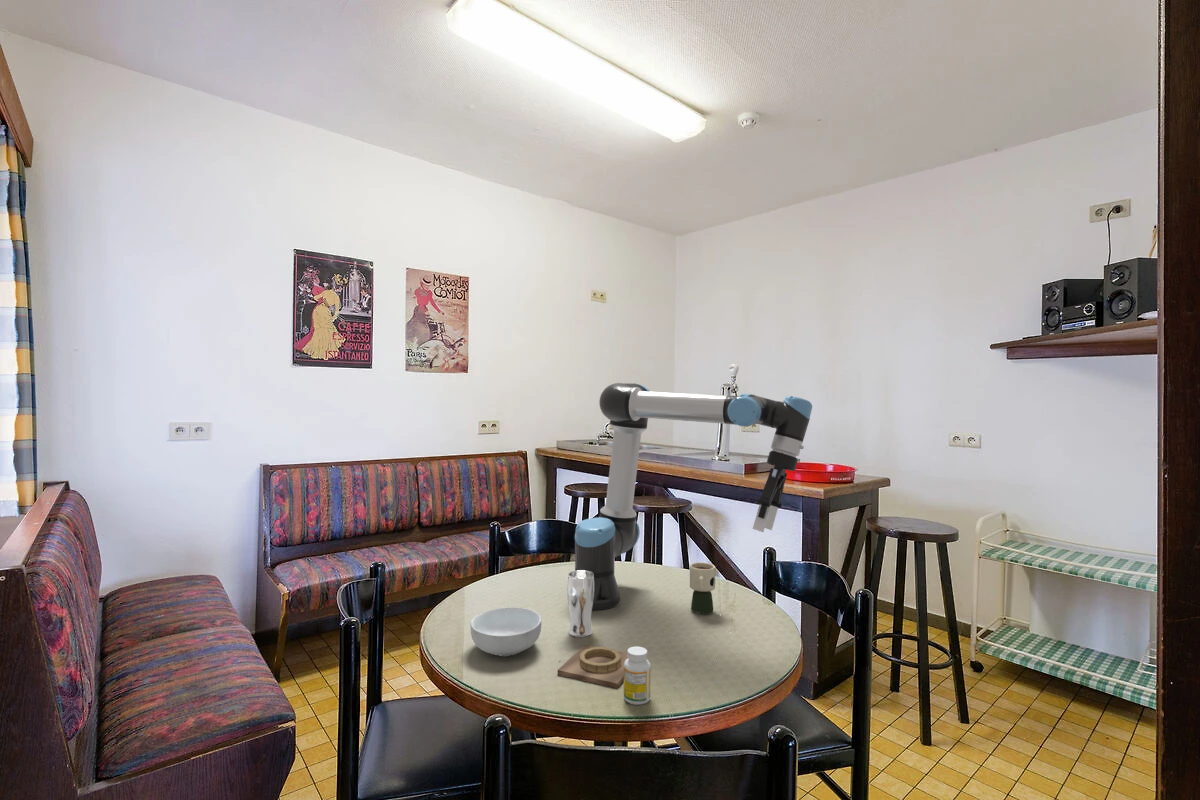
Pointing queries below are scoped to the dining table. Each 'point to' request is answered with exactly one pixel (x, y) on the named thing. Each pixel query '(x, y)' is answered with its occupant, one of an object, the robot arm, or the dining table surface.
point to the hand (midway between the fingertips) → (762, 529)
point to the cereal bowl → (505, 630)
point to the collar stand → (596, 666)
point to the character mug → (702, 587)
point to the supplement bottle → (637, 676)
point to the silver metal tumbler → (580, 602)
